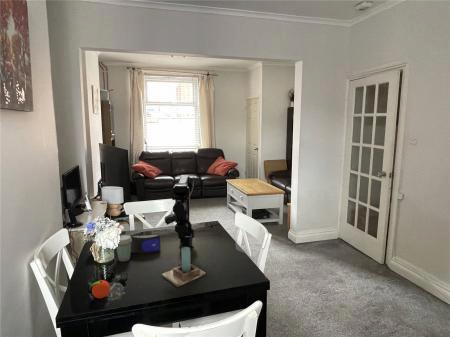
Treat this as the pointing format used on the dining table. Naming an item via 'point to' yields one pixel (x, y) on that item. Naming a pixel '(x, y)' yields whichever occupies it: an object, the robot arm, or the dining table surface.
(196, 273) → the keyhole socket
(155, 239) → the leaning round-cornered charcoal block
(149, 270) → the dining table surface
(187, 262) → the peg
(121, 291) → the dining table surface
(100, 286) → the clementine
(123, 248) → the coffee cup
